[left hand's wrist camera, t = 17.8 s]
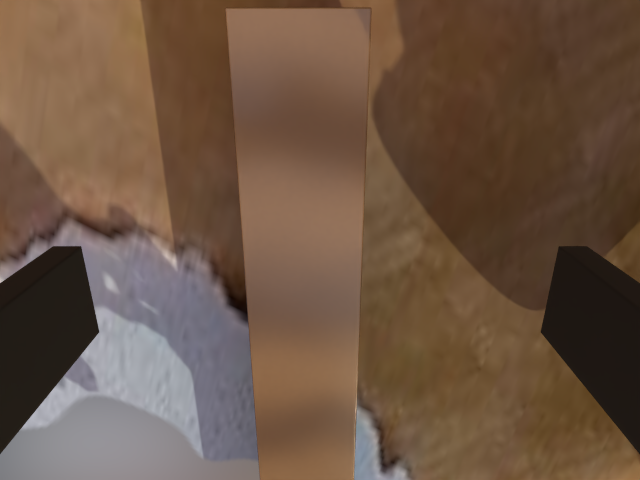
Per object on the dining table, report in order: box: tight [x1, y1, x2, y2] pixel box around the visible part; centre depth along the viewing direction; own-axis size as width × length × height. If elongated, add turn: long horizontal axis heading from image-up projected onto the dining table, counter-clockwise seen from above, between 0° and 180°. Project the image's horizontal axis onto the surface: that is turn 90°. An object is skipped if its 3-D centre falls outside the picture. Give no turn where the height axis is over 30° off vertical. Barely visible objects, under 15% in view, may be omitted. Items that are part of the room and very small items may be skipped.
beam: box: [225, 8, 371, 480], centre depth 29 cm, size 51×5×9 cm, turn 0°
